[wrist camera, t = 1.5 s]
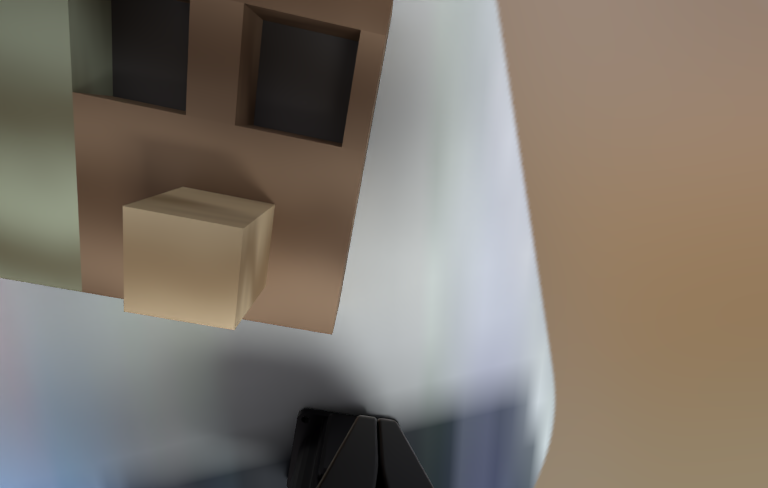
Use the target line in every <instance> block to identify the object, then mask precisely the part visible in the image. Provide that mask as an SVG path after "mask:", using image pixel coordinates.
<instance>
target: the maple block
mask: <svg viewBox="0 0 768 488" xmlns="http://www.w3.org/2000/svg"><path fill="white" fill-rule="evenodd" d="M274 209H275V204H270V203H265V202H260V201H255V200H249V199H244V198H239V197H234V196H229V195H223V194H218V193H213V192H208V191H203V190H197V189H192V188H187V187H181V188H178V189H175V190H171V191H168V192H165V193H162V194H159V195H156V196H153V197H149V198H146V199H143V200H140V201H137V202H134V203H131V204H127V205H124V206H123V271H124V312H130V313H136V314H142V315H148V316H154V317H160V318H166V319H171V320H177V321H183V322H189V323H195V324H201V325H207V326H213V327H219V328H225V329H231V330H235V328H236V327H237V326H238V324H239V323H240V321H241V320H242V318H243V317H244V316H245V314H246V313H247V311H248V310H249V309H250V307H251V306H252V304H253V303H254V302H255V300H256V299H257V297H258V296H259V295H260V293H261V292H262V290H263V289H264V287H265V286H266V279H267V270H268V261H269V253H270V244H271V235H272V226H273V218H274Z"/></svg>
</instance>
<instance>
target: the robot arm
mask: <svg viewBox="0 0 768 488" xmlns="http://www.w3.org/2000/svg"><path fill="white" fill-rule="evenodd" d="M303 416H307V417H309V418H305V417H303ZM287 487H288V488H434V487H433V485H432V483H431V481H430V480H429V478H428V476H427V474H426V473H425V471H424V469H423V467H422V466H421V464H420V462H419V460H418V458H417V457H416V455H415V453H414V451H413V450H412V448H411V446H410V444H409V442H408V441H407V439H406V437H405V435H404V434H403V432H402V430H401V428H400V426H399V424H398V423H397V422H396V421H395V420H390V419H383V418H379V419H376V418H375V417H370V416H364V415H359V416H354V415H347V414H341V413H334V412H328V411H322V410H315V409H309V408H304V409H302V410H300V412H299V414H298V418H297V424H296V430H295V436H294V442H293V449H292V455H291V461H290V467H289V473H288V480H287Z"/></svg>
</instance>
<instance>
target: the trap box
mask: <svg viewBox="0 0 768 488" xmlns="http://www.w3.org/2000/svg"><path fill="white" fill-rule="evenodd" d="M392 8H393V0H0V278H4V279H10V280H15V281H21V282H27V283H33V284H39V285H45V286H51V287H56V288H62V289H68V290H74V291H80V292H86V293H92V294H98V295H103V296H109V297H115V298H121V299H124V271H123V206H124V205H127V204H131V203H134V202H137V201H140V200H143V199H146V198H149V197H153V196H156V195H159V194H162V193H165V192H168V191H171V190H175V189H178V188H181V187H187V188H192V189H197V190H203V191H208V192H213V193H218V194H223V195H229V196H234V197H239V198H244V199H249V200H255V201H260V202H265V203H270V204H275V209H274V218H273V226H272V235H271V244H270V253H269V261H268V270H267V279H266V286H265V287H264V289H263V290H262V292H261V293H260V295H259V296H258V297H257V299H256V300H255V302H254V303H253V304H252V306H251V307H250V309H249V310H248V311H247V313H246V314H245V316H244V317H243V318H242V319H244V320H250V321H256V322H262V323H268V324H273V325H279V326H285V327H291V328H297V329H303V330H309V331H314V332H320V333H326V334H332V333H333V329H334V324H335V320H336V316H337V311H338V307H339V302H340V296H341V291H342V285H343V280H344V274H345V269H346V263H347V258H348V252H349V247H350V241H351V236H352V230H353V225H354V219H355V214H356V208H357V203H358V197H359V192H360V186H361V181H362V175H363V170H364V164H365V159H366V153H367V148H368V142H369V137H370V131H371V126H372V120H373V115H374V109H375V104H376V98H377V93H378V87H379V82H380V76H381V71H382V65H383V60H384V54H385V49H386V43H387V38H388V32H389V27H390V21H391V16H392Z"/></svg>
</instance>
